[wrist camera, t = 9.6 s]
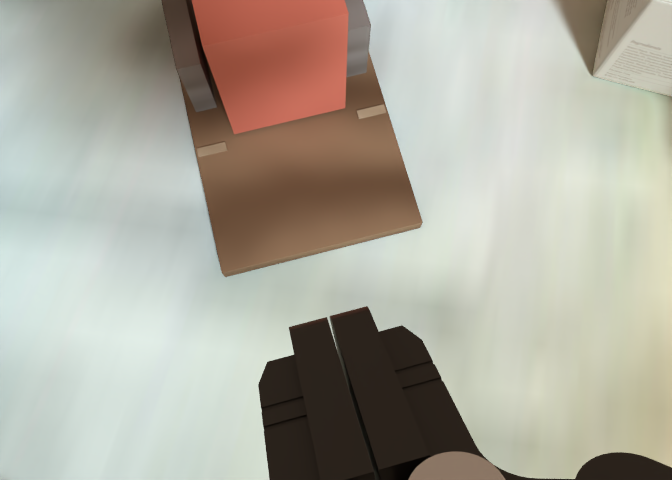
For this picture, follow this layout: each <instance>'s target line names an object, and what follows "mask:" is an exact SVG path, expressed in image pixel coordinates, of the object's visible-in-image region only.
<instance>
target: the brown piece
mask: <svg viewBox="0 0 672 480" xmlns="http://www.w3.org/2000/svg"><path fill="white" fill-rule="evenodd" d="M345 3H346V7H347V10H348V13H349V15H348V44H347V72H346V101H345V108H344V109H339V110H335V111H331V112H327V113H322V114H318V115H314V116H310V117H305V118H301V119H297V120H293V121H289V122H284V123H280V124H276V125H272V126H267V127H263V128H259V129H255V130H250V131H246V132H242V133H238V134H234V132H233V130H232V127H231V124H230V121H229V119H228V116H227V113H226V110H225V108H224V105H223V102H222V99H221V96H220V94H219V91H218V88H217V85H216V83H215V80H214V77H213V74H212V72H211V69H210V66H209V63H208V60H207V58H206V55H205V52H204V49H203V47H202V43H201V38H200V34H199V30H198V25H197V21H196V17H195V12H194V8H193V4H192V0H162V5H163V9H164V14H165V18H166V23H167V28H168V32H169V37H170V42H171V46H172V51H173V56H174V60H175V65H176V69H177V71H178V74H179V77H180V82H181V86H182V91H183V95H184V100H185V105H186V109H187V114H188V118H189V123H190V128H191V132H192V137H193V142H194V146H195V151H196V155H197V160H198V165H199V169H200V174H201V179H202V183H203V188H204V192H205V197H206V202H207V206H208V211H209V215H210V220H211V225H212V229H213V234H214V239H215V243H216V248H217V252H218V257H219V262H220V266H221V271H222V274H223V275H224V276H225V277H227V276H231V275H235V274H239V273H243V272H247V271H251V270H255V269H259V268H263V267H267V266H271V265H275V264H279V263H283V262H287V261H291V260H294V259H298V258H302V257H306V256H310V255H314V254H318V253H322V252H326V251H330V250H334V249H338V248H342V247H346V246H350V245H354V244H358V243H362V242H366V241H370V240H374V239H378V238H381V237H385V236H389V235H393V234H397V233H401V232H405V231H409V230H413V229H417V228H420V227H421V225H422V219H421V216H420V213H419V209H418V206H417V203H416V200H415V197H414V194H413V190H412V187H411V184H410V181H409V178H408V175H407V171H406V168H405V165H404V162H403V159H402V156H401V152H400V149H399V146H398V143H397V140H396V137H395V133H394V130H393V127H392V124H391V121H390V117H389V114H388V111H387V108H386V105H385V102H384V98H383V95H382V92H381V89H380V86H379V83H378V79H377V76H376V73H375V70H374V67H373V64H372V60H371V57H370V54H369V40H370V29H371V24H370V21H369V18H368V14H367V11H366V8H365V5H364V2H363V0H345Z"/></svg>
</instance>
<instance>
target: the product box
mask: <svg viewBox="0 0 672 480" xmlns="http://www.w3.org/2000/svg"><path fill="white" fill-rule="evenodd" d="M593 76H594V77H598V78H601V79H605V80H609V81H612V82H616V83H620V84H624V85H628V86H632V87H636V88H640V89H644V90H648V91H652V92H656V93H659V94H663V95H667V96H671V97H672V0H607V4H606V9H605V13H604V18H603V23H602V28H601V33H600V38H599V43H598V48H597V53H596V58H595V63H594V69H593Z"/></svg>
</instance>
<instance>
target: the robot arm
mask: <svg viewBox="0 0 672 480" xmlns="http://www.w3.org/2000/svg"><path fill="white" fill-rule="evenodd" d="M330 321H331V325H332V330H333V334H334V338H335V342H334V339H333V336H332V333H331V329H330V326H329V323H328V320H327V317H326V318H322V319H318V320H314V321H310V322H307V323H303V324H299V325H295V326H292V327H289V330H290V335H291V340H292V345H293V350H294V355H291V356H288V357H284V358H280V359H276V360H273V361H269V362H267V364H266V367H265V369H264V372H263V374H262V377H261V379H260V382H259V384H258V385H259V394H260V402H261V409H262V419H263V427H264V436H265V444H266V452H267V461H268V469H269V478H270V480H672V468H671V467H669V466H666V465H664V464H662V463H659V462H657V461H654V460H652V459H649V458H647V457H644V456H641V455H636V454H632V453H622V452H621V453H608V454H603V455H600V456H597V457H595V458H593V459H591V460H589V461H588V462H587V463H586V464H584V465H583V466H582V468H581V469H580V470H579V472H578V474H577V476H576V478H575V479H535V478H526V477H521V476H517V475H514V474H511V473H508V472H506V471H504V470H502V469H499V468H498V467H496V466H495V465H493V464H492V463H491V462H489V461H488V460H487V459H486V458H485V457H484V456H483V455H482V454H481V453H480V451H479V450H478V448H477V447H476V445H475V443H474V441H473V439H472V437H471V435H470V433H469V431H468V429H467V427H466V425H465V423H464V422H463V420H462V418H461V416H460V414H459V412H458V410H457V408H456V406H455V404H454V402H453V400H452V398H451V396H450V394H449V392H448V390H447V388H446V386H445V384H444V382H442V380H441V376H440V374H439V372H438V370H437V368H436V367H435V365H434V364H433V361H432V359H431V357H430V355H429V353H428V351H427V349H426V347H425V345H424V343H423V341H422V340H421V339H420V338H419V337H417V336H416V335H414V334H413V333H412V332H410V331H409V330H408V329H406V328H405V327H404V326H399V327H395V328H391V329H387V330H384V331H380V332H378V329H377V327H376V325H375V322H374V320H373V317H372V315H371V313H370V310H369V308H368V307H367V306H366V307H363V308H359V309H355V310H351V311H348V312H344V313H340V314H336V315H332V316H330ZM335 343H336V346H335ZM336 347H337V349H336Z"/></svg>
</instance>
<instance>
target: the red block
mask: <svg viewBox="0 0 672 480" xmlns="http://www.w3.org/2000/svg"><path fill="white" fill-rule="evenodd" d="M192 4H193V8H194V12H195V17H196V21H197V25H198V30H199V34H200V38H201V43H202V47H203V49H204V52H205V55H206V58H207V60H208V63H209V66H210V69H211V72H212V74H213V77H214V80H215V83H216V85H217V88H218V91H219V94H220V96H221V99H222V102H223V105H224V108H225V110H226V113H227V116H228V119H229V121H230V124H231V127H232V130H233V132H234V134H238V133H242V132H246V131H250V130H255V129H259V128H263V127H267V126H272V125H276V124H280V123H284V122H289V121H293V120H297V119H301V118H305V117H310V116H314V115H318V114H322V113H327V112H331V111H335V110H339V109H344V108H345V101H346V72H347V44H348V15H349V13H348V10H347V7H346V3H345V0H192Z"/></svg>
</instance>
